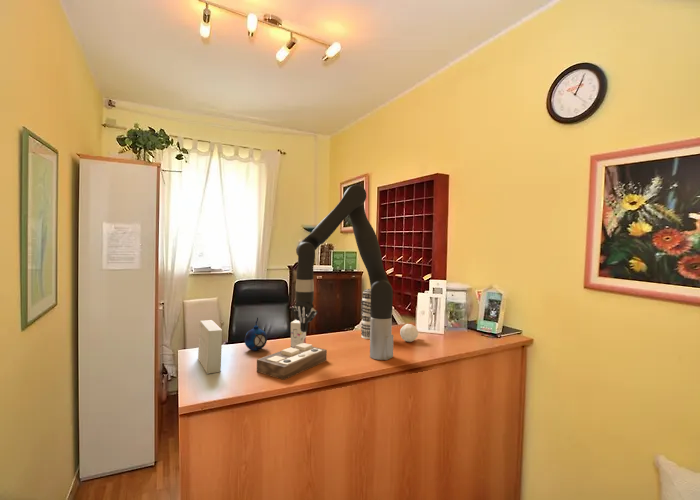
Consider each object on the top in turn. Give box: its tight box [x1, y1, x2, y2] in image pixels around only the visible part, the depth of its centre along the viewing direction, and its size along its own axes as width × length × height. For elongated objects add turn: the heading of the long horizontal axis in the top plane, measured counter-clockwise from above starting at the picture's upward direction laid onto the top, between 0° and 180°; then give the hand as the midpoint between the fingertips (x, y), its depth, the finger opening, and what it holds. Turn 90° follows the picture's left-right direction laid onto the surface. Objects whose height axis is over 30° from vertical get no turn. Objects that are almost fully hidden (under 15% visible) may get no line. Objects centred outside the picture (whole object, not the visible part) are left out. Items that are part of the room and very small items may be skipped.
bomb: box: [244, 317, 268, 352], centre depth 155 cm, size 10×11×15 cm
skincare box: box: [197, 319, 223, 375], centre depth 136 cm, size 21×5×16 cm, turn 32°
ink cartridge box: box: [290, 318, 307, 347], centre depth 164 cm, size 9×5×15 cm, turn 168°
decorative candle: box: [360, 288, 371, 340], centre depth 180 cm, size 9×9×25 cm
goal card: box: [278, 347, 323, 365], centre depth 134 cm, size 4×21×1 cm, turn 147°
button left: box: [266, 356, 286, 363], centre depth 130 cm, size 5×5×3 cm
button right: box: [295, 342, 313, 352], centre depth 144 cm, size 5×5×3 cm
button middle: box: [281, 346, 300, 357], centre depth 137 cm, size 5×5×3 cm
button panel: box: [256, 346, 328, 381], centre depth 136 cm, size 14×25×4 cm, turn 147°
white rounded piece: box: [399, 323, 419, 343], centre depth 174 cm, size 9×9×12 cm
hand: (304, 331), depth 144 cm, fingers closed
